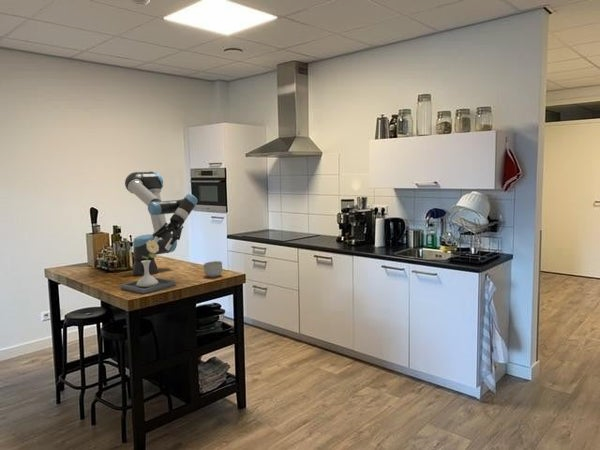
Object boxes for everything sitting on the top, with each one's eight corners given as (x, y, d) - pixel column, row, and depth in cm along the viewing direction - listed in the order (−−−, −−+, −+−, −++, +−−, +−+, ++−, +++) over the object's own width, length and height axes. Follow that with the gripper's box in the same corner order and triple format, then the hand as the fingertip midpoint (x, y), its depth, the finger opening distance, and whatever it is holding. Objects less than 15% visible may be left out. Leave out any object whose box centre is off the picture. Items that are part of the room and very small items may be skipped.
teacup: (218, 278, 267) (218, 264, 266) (201, 277, 269) (200, 264, 268) (227, 272, 280) (226, 260, 279) (210, 272, 282) (209, 259, 281)
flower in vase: (140, 290, 240) (137, 243, 237) (133, 286, 249) (130, 240, 246) (164, 285, 248) (162, 240, 245) (156, 282, 257) (154, 237, 254)
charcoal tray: (121, 289, 247) (120, 284, 247) (152, 281, 263) (152, 277, 263) (144, 294, 235) (143, 289, 235) (175, 285, 251) (175, 281, 251)
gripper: (197, 223, 257) (177, 254, 247) (169, 220, 272) (149, 249, 262) (189, 214, 252) (168, 246, 242) (161, 212, 267) (140, 242, 257)
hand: (158, 248), depth 252 cm, fingers open, 13 cm apart
